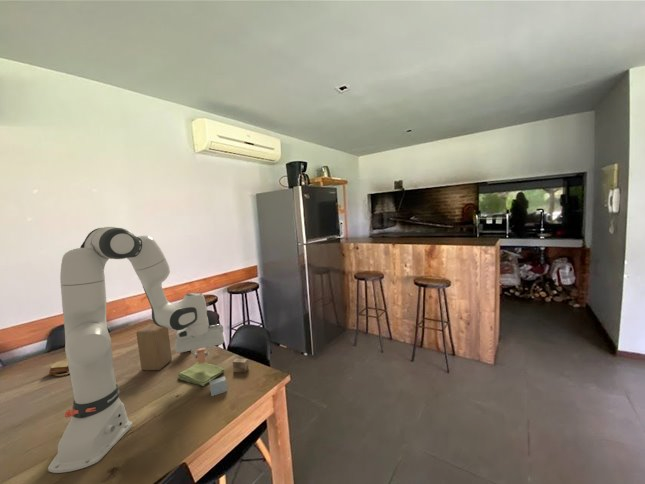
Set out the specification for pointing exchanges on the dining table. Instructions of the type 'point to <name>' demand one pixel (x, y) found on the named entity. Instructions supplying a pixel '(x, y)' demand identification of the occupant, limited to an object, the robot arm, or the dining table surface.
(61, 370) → the toy sandwich meal
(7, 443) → the dining table surface
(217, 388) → the brick slate
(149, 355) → the block
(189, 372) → the washcloth
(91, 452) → the robot arm
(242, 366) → the brick walnut
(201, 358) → the brick terracotta
